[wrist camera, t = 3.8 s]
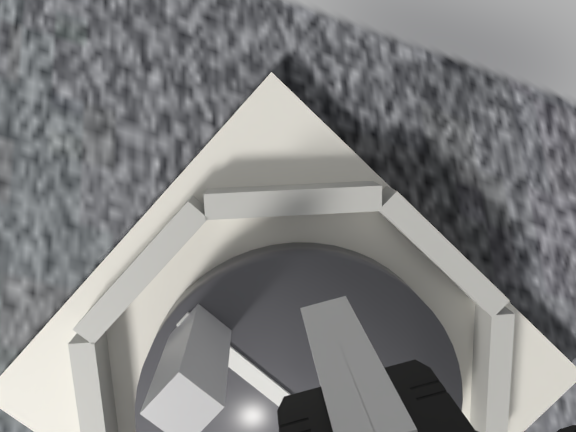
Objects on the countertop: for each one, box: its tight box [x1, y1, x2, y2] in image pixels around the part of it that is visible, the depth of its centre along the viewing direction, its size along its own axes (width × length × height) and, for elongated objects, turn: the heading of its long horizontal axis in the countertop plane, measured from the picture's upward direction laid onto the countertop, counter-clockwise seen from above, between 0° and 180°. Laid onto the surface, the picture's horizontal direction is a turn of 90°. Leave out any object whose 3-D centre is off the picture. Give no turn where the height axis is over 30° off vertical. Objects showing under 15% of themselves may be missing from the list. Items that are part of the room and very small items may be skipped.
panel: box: [0, 72, 576, 432], centre depth 25 cm, size 24×22×4 cm
